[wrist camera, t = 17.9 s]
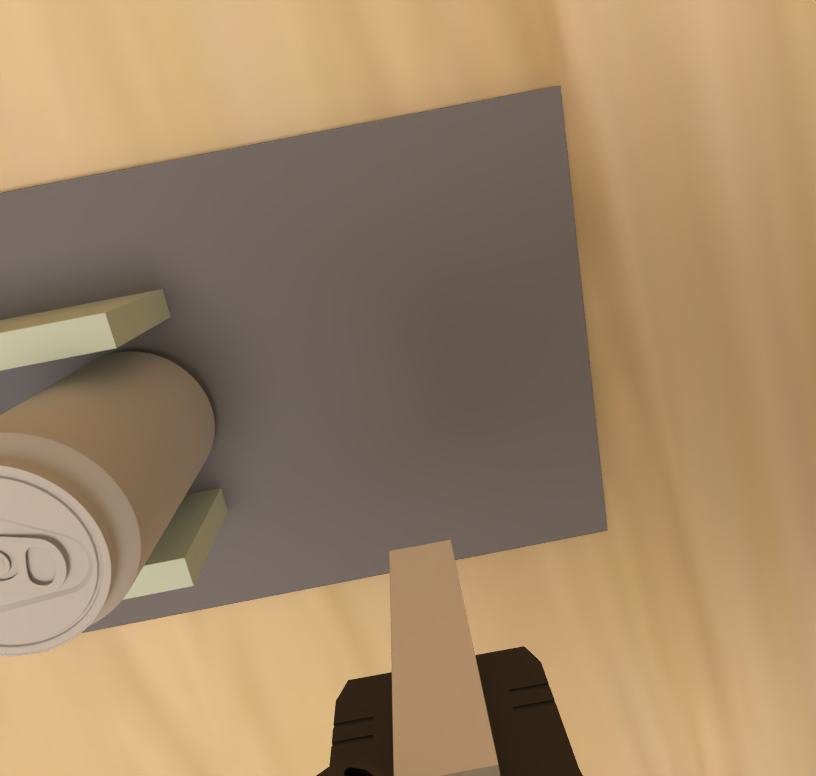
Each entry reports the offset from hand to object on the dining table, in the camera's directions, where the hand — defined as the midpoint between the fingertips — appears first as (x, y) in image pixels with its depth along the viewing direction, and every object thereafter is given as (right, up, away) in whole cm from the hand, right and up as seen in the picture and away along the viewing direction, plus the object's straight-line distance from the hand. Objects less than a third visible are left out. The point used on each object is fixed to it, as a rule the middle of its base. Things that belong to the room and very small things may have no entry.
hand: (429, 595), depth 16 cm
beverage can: (-12, +4, +13) cm, 18 cm away
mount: (-6, +5, +13) cm, 15 cm away
